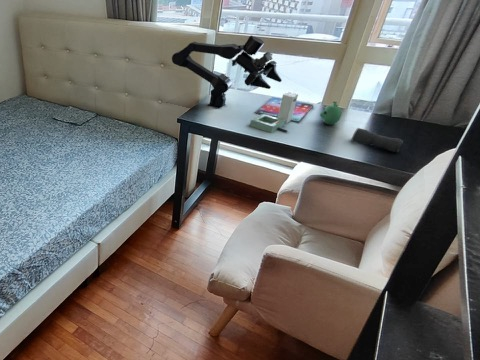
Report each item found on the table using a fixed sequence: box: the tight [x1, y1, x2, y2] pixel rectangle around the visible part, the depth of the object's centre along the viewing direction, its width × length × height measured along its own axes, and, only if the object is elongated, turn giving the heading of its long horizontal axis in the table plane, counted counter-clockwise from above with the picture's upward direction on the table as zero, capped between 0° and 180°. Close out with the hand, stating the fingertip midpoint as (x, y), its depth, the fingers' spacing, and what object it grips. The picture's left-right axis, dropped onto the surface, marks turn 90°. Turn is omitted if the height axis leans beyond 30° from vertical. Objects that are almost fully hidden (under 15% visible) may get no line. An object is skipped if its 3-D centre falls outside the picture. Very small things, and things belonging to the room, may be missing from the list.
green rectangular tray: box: [249, 114, 288, 134], centre depth 161 cm, size 14×10×3 cm
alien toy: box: [319, 100, 342, 126], centre depth 160 cm, size 7×8×10 cm
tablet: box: [255, 96, 314, 123], centre depth 178 cm, size 19×25×1 cm
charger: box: [278, 91, 299, 124], centre depth 164 cm, size 4×4×12 cm
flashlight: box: [351, 127, 404, 153], centre depth 143 cm, size 15×5×5 cm, turn 42°
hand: (275, 84), depth 163 cm, fingers open, 9 cm apart
